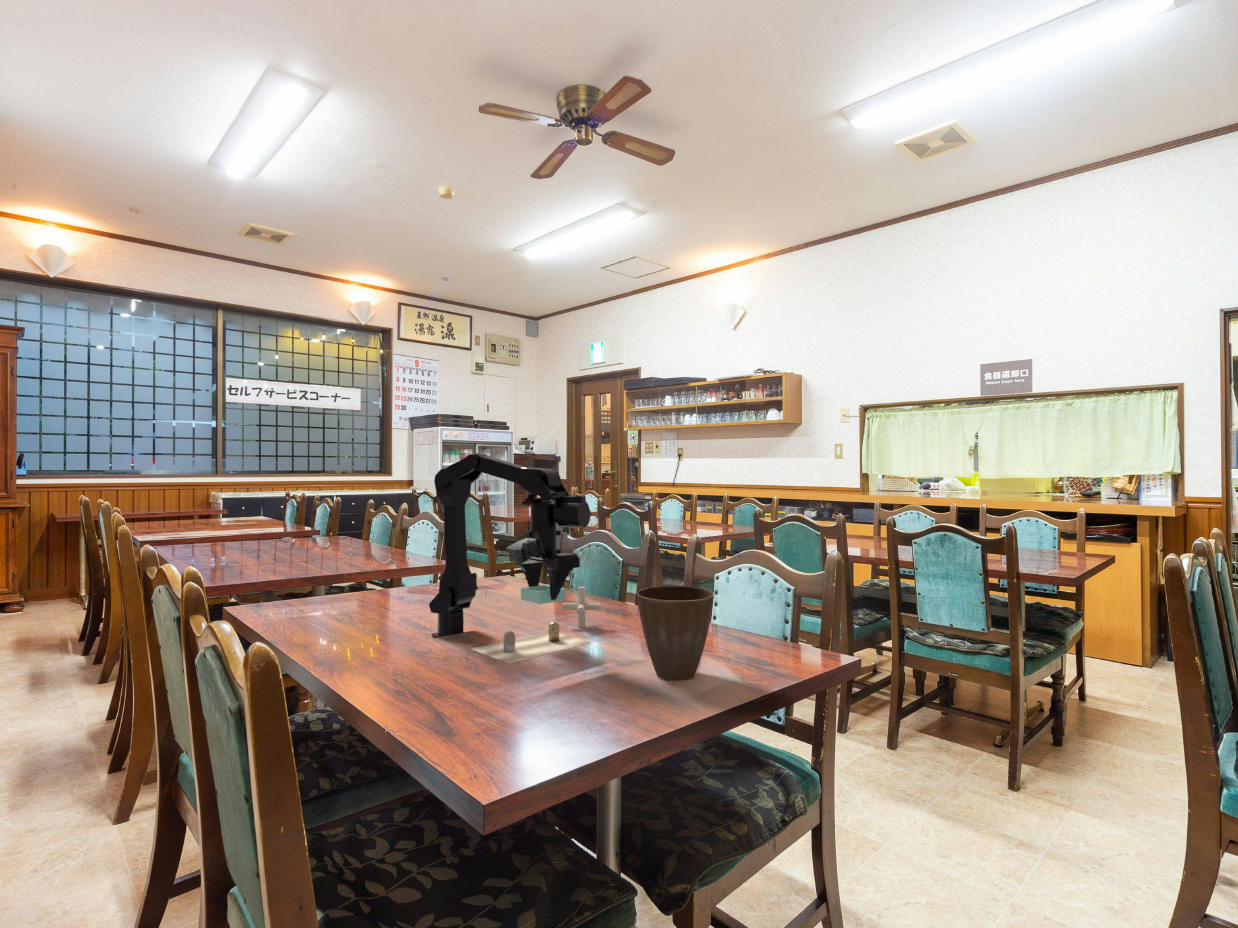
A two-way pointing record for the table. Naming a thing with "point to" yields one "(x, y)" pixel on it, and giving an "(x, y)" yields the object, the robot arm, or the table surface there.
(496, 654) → the birch stand board
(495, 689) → the table surface
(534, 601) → the teal collar
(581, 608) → the pipe connector
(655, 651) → the plant pot
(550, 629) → the bronze post
